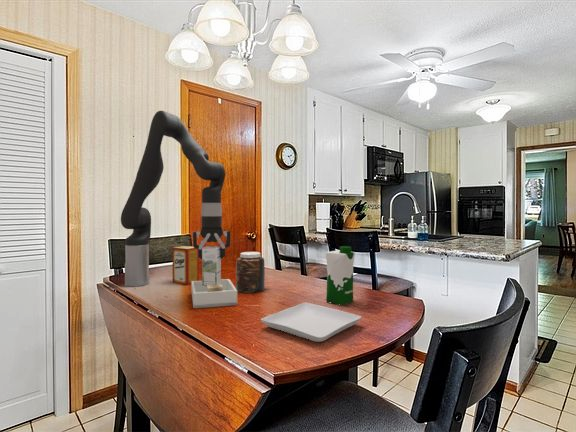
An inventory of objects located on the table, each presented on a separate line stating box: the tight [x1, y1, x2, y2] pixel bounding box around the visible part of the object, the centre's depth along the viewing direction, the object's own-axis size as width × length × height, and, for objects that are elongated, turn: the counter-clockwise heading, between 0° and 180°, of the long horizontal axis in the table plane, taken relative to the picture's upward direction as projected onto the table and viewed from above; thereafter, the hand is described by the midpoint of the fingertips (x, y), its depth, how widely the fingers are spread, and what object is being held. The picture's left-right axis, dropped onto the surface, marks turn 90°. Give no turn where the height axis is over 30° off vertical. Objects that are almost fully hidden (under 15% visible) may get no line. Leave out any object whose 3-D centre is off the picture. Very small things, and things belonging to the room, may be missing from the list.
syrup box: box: [201, 245, 222, 286], centre depth 131 cm, size 6×6×14 cm
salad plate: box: [260, 301, 362, 343], centre depth 98 cm, size 21×21×3 cm
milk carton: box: [325, 245, 356, 306], centre depth 124 cm, size 9×9×20 cm
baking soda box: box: [172, 245, 200, 286], centre depth 154 cm, size 10×6×16 cm
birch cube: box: [207, 284, 223, 292], centre depth 122 cm, size 5×5×5 cm
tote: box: [190, 278, 238, 309], centre depth 127 cm, size 15×20×5 cm
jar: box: [235, 251, 266, 294], centre depth 141 cm, size 12×12×15 cm
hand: (211, 258), depth 131 cm, fingers closed on syrup box, 7 cm apart
